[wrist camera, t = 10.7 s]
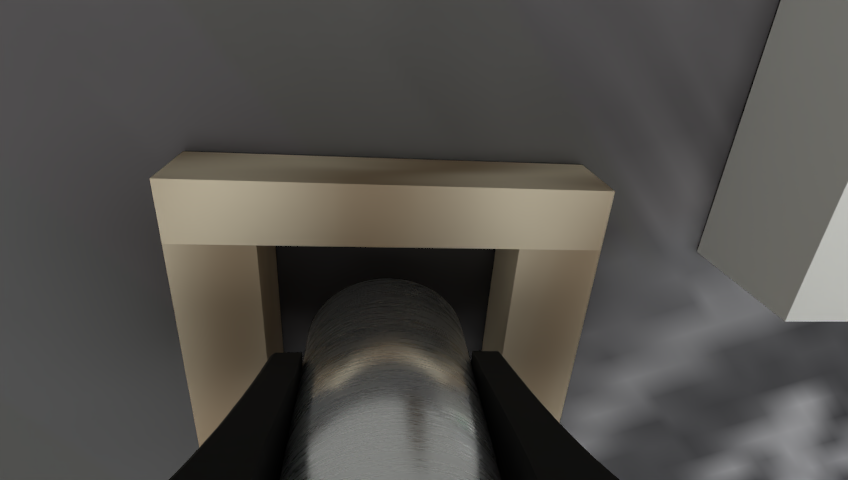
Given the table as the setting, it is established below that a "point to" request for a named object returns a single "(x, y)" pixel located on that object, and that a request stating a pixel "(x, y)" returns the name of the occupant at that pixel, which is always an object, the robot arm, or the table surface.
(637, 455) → the table surface
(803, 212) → the button box
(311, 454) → the cylinder
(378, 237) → the board
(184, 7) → the table surface
